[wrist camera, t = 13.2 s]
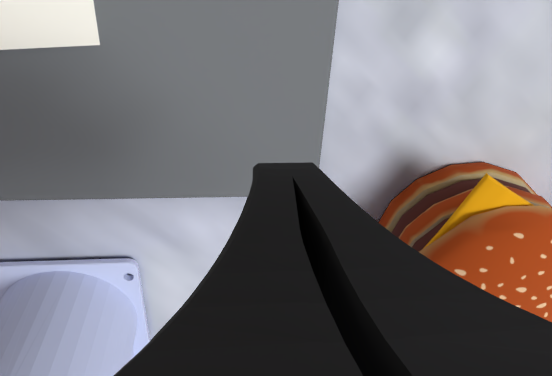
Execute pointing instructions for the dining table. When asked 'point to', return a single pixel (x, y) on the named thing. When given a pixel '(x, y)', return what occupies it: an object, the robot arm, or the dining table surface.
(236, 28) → the mat
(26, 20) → the domino
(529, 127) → the dining table surface
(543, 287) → the hamburger
